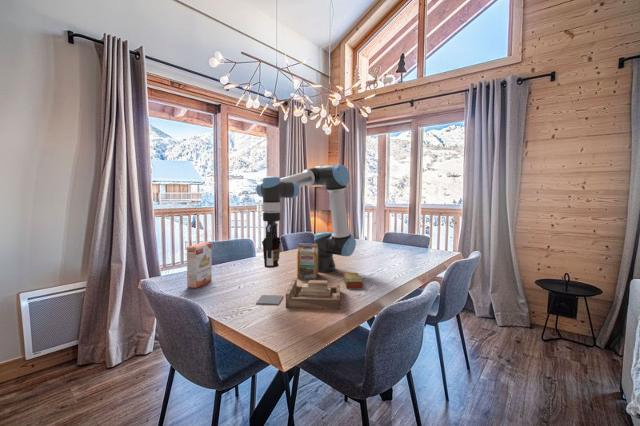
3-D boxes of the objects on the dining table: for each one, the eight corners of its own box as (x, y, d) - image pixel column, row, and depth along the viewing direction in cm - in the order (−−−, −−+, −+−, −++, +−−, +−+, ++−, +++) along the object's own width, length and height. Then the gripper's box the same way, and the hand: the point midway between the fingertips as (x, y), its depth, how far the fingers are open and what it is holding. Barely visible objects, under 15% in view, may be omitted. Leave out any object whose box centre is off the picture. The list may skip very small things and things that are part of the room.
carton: (358, 280, 170) (358, 272, 169) (362, 289, 154) (363, 281, 153) (343, 279, 169) (343, 272, 169) (346, 289, 153) (346, 281, 153)
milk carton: (318, 273, 180) (318, 242, 178) (316, 279, 169) (316, 245, 168) (300, 273, 181) (300, 241, 179) (297, 278, 170) (297, 245, 169)
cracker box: (197, 288, 152) (196, 247, 151) (186, 287, 154) (185, 247, 152) (212, 280, 166) (211, 242, 164) (202, 279, 167) (201, 242, 166)
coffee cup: (285, 266, 136) (285, 237, 135) (271, 270, 130) (271, 240, 129) (271, 263, 142) (271, 235, 141) (258, 266, 135) (257, 238, 134)
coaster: (262, 296, 142) (262, 294, 142) (283, 296, 142) (283, 295, 142) (256, 304, 133) (256, 302, 132) (278, 305, 132) (278, 303, 132)
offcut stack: (302, 291, 149) (302, 279, 149) (330, 292, 148) (330, 280, 148) (300, 295, 144) (300, 283, 144) (330, 295, 143) (330, 283, 143)
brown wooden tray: (293, 289, 152) (293, 278, 151) (340, 291, 150) (340, 279, 149) (285, 307, 129) (285, 293, 129) (339, 309, 128) (339, 295, 127)
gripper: (268, 210, 144) (268, 257, 146) (257, 213, 124) (257, 268, 126) (283, 210, 144) (283, 257, 146) (275, 214, 123) (275, 269, 125)
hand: (271, 262), depth 136 cm, fingers closed on coffee cup, 8 cm apart
